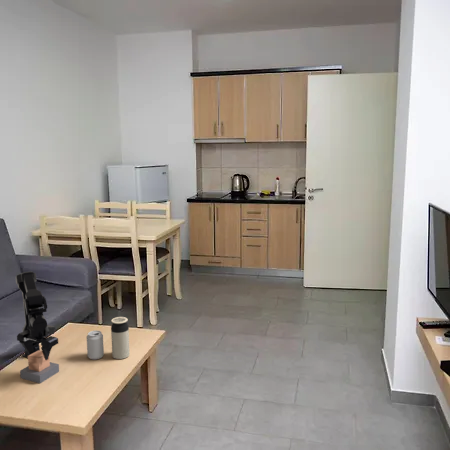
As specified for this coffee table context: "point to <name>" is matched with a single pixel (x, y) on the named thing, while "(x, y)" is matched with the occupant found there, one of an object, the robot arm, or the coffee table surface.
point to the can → (95, 345)
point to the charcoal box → (39, 373)
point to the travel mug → (120, 338)
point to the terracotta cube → (38, 361)
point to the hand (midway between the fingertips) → (38, 357)
